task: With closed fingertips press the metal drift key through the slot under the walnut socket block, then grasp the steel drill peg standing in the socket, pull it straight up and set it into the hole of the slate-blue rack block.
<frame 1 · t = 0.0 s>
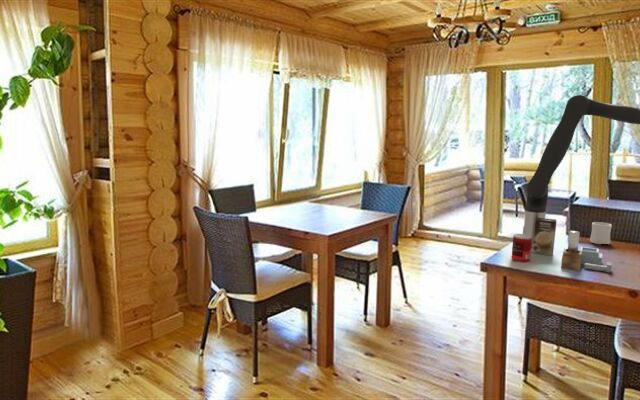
rack block: (588, 262, 215), on the table
canned food: (520, 260, 218), on the table
drill peg: (572, 254, 208), point 5 cm above the table, touching socket block
drift key: (597, 265, 204), point 2 cm above the table, slide at 0.0 cm
socket block: (571, 266, 209), on the table
mug: (598, 242, 253), on the table
coffee box: (542, 253, 230), on the table
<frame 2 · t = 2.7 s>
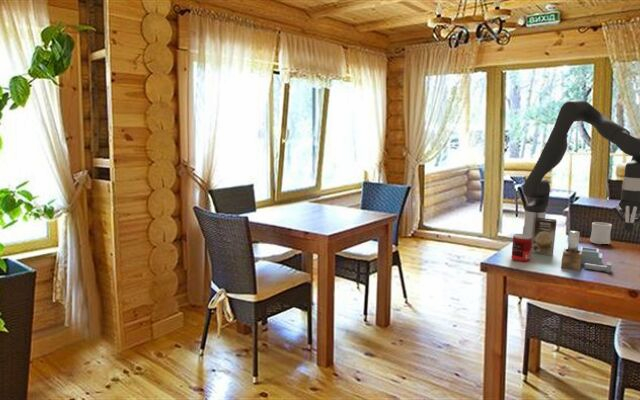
hand: (628, 231, 197), 18 cm above the table, tool pointing down, fingers closed
nothing on the table moved.
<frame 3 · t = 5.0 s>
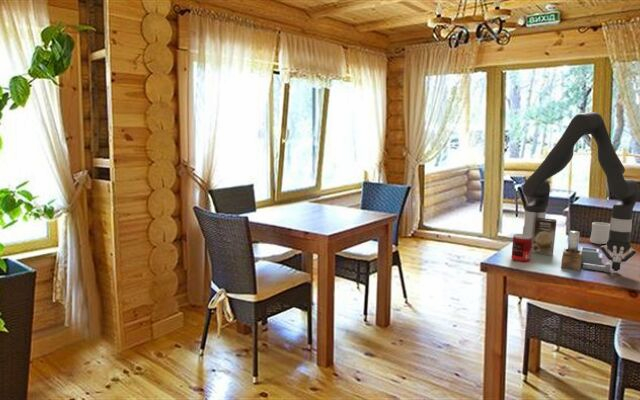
hand: (615, 270, 201), 1 cm above the table, tool pointing down, fingers closed
drift key: (596, 265, 204), point 2 cm above the table, slide at 0.5 cm, touching gripper
everything else where it was.
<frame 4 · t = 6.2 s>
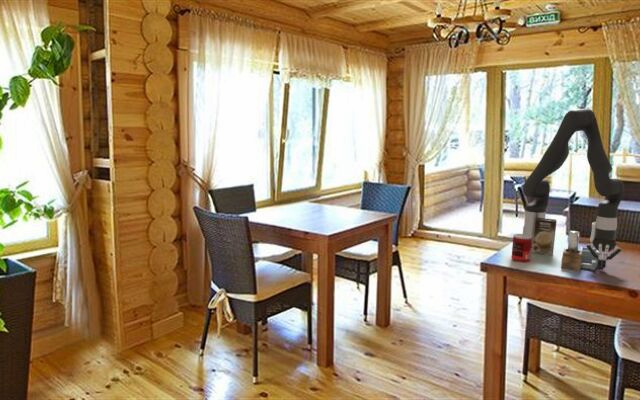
hand: (601, 268, 204), 1 cm above the table, tool pointing down, fingers closed
drift key: (582, 263, 207), point 2 cm above the table, slide at 5.6 cm, touching gripper
everything else where it was.
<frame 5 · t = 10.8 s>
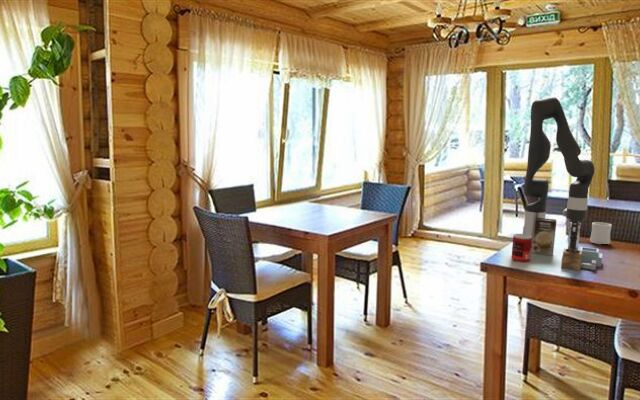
hand: (573, 247, 208), 8 cm above the table, tool pointing down, fingers closed on drill peg, 3 cm apart
drill peg: (572, 254, 208), point 5 cm above the table, touching gripper, socket block
drift key: (582, 263, 207), point 2 cm above the table, slide at 5.6 cm
everything else where it was.
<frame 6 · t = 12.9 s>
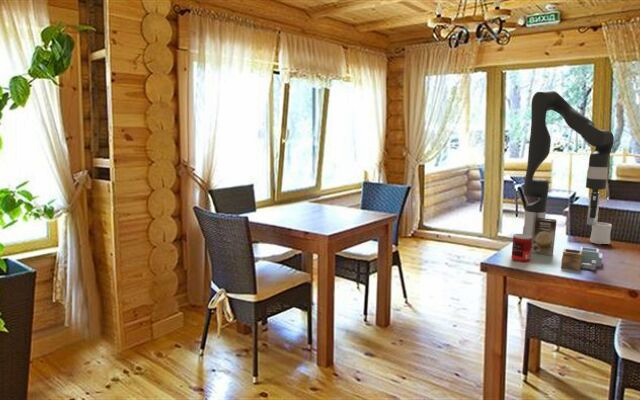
hand: (592, 216, 212), 20 cm above the table, tool pointing down, fingers closed on drill peg, 3 cm apart
drill peg: (591, 224, 212), point 17 cm above the table, touching gripper
everything else where it was.
when the fingers open (8 cm above the table, at t = 15.3 s): drill peg stays where it is, resting on rack block.
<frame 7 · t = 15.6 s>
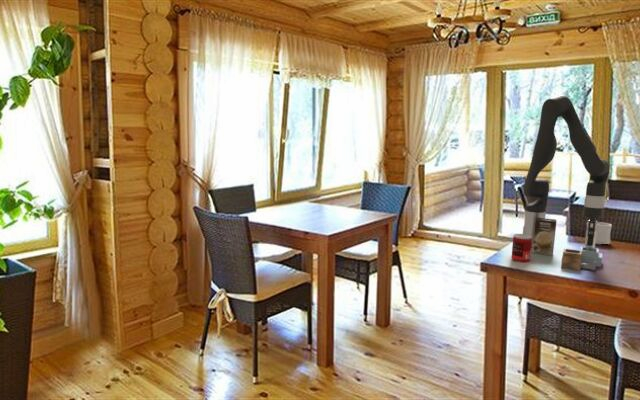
hand: (590, 243, 213), 9 cm above the table, tool pointing down, fingers open, 6 cm apart
drill peg: (588, 253, 214), point 4 cm above the table, touching rack block
everything else where it was.
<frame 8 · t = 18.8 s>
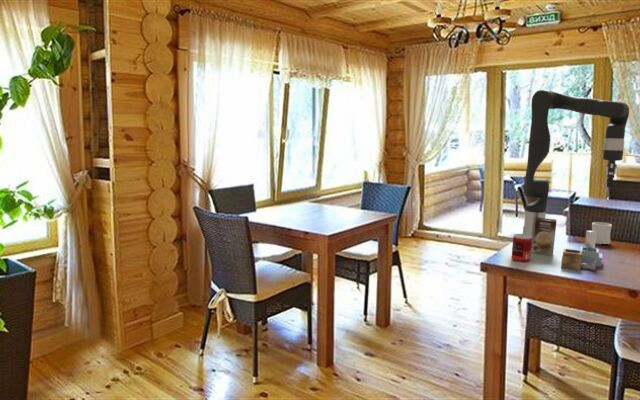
hand: (609, 186, 216), 33 cm above the table, tool pointing down, fingers open, 8 cm apart
nothing on the table moved.
at the end: drift key slide at 5.6 cm; drill peg 0.0 cm off-centre on the rack block, point 4.0 cm above the rack block's base; drill peg tilted 0° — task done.
